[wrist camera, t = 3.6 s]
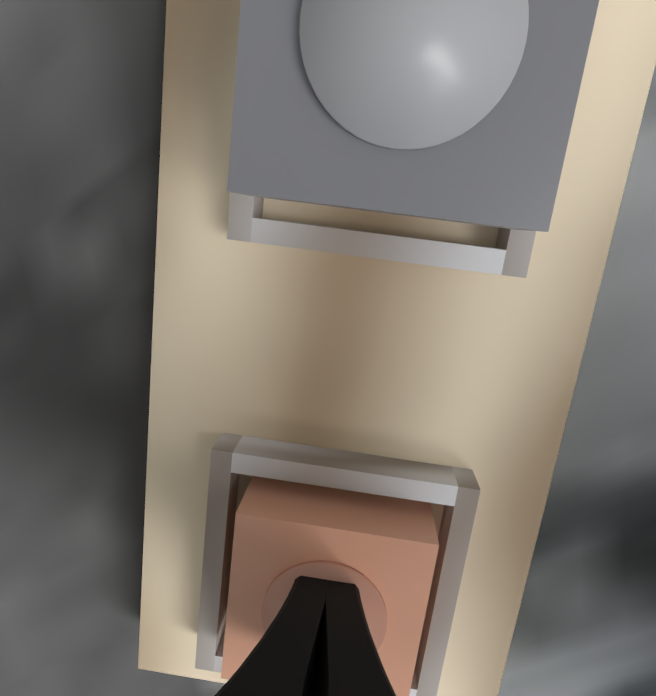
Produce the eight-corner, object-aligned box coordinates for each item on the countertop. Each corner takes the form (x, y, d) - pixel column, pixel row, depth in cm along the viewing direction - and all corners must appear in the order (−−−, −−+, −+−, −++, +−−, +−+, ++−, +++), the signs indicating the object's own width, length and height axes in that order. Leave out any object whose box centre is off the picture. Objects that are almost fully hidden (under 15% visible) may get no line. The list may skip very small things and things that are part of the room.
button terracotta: (429, 496, 13) (440, 549, 11) (401, 643, 14) (406, 715, 12) (255, 470, 13) (233, 517, 11) (241, 616, 14) (218, 683, 12)
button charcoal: (570, -69, 8) (640, -169, 6) (510, 228, 9) (551, 232, 7) (282, -97, 8) (252, -205, 6) (256, 196, 9) (223, 190, 7)
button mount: (660, -80, 11) (738, -161, 9) (478, 682, 16) (497, 764, 14) (198, -125, 12) (152, -214, 9) (158, 629, 17) (122, 698, 14)
